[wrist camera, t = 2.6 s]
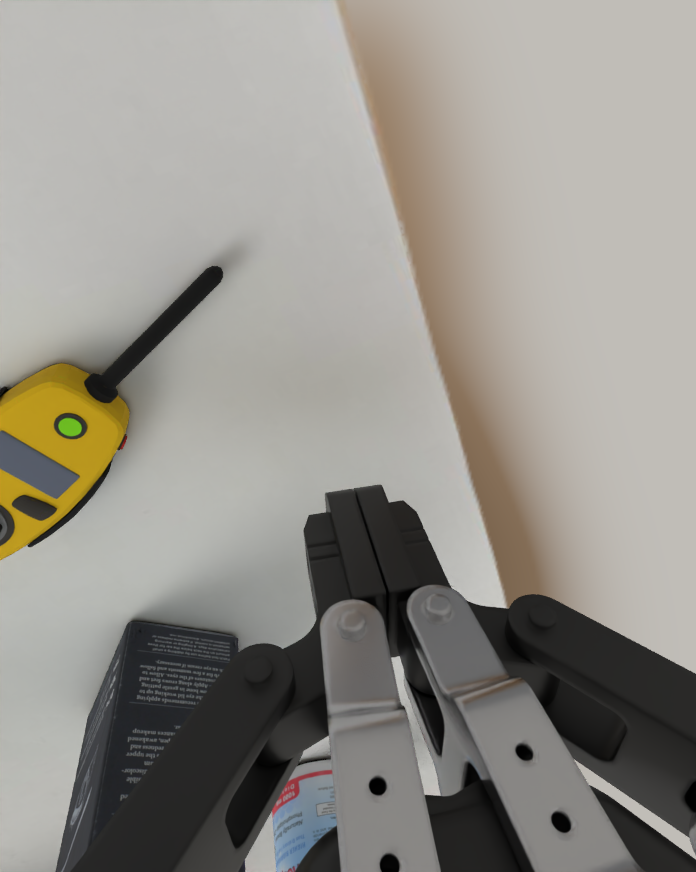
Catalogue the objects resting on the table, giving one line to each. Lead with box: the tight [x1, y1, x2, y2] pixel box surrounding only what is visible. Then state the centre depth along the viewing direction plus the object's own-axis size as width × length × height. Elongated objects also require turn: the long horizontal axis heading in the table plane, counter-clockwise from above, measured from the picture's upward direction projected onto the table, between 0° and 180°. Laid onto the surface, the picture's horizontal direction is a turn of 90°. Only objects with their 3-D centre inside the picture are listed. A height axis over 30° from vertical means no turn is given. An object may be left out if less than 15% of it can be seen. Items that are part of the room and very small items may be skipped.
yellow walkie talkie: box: [0, 266, 223, 560], centre depth 19 cm, size 5×2×15 cm
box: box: [56, 622, 245, 872], centre depth 24 cm, size 8×6×11 cm
